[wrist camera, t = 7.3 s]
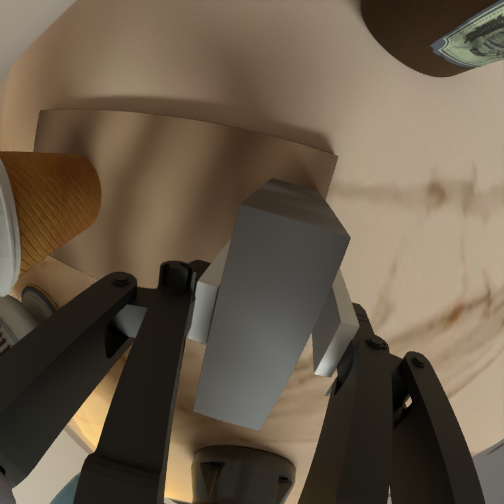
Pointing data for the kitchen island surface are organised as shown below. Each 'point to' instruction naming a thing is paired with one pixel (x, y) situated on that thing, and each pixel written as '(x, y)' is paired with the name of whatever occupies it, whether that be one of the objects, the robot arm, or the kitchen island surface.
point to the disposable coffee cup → (42, 207)
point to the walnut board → (212, 235)
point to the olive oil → (438, 33)
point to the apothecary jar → (23, 315)
